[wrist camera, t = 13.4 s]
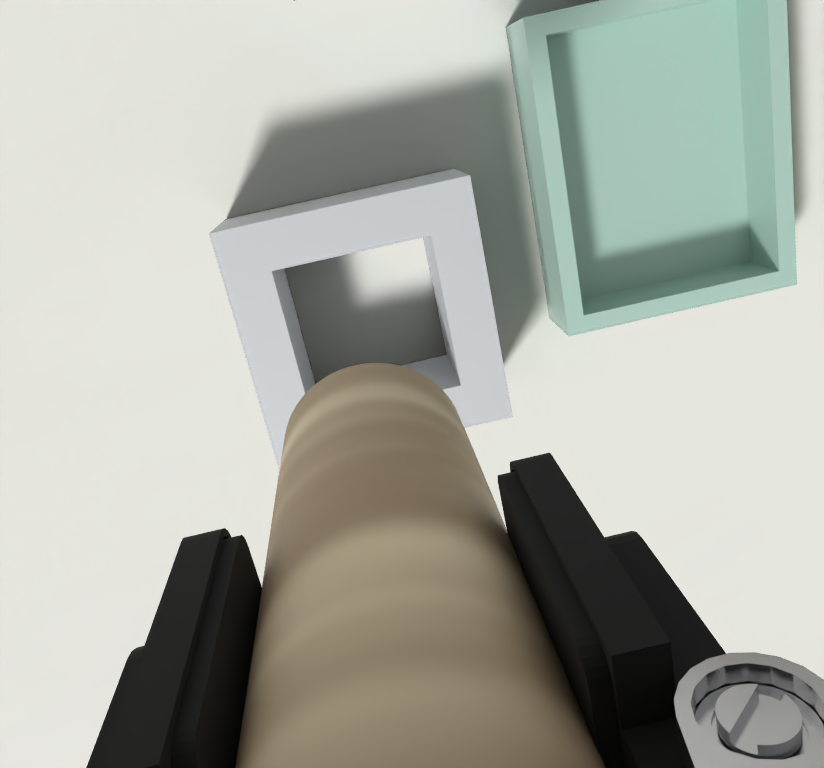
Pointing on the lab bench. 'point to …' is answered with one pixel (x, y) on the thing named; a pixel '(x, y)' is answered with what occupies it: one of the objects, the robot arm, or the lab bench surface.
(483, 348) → the socket block
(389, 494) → the dowel
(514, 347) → the lab bench surface
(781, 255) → the tray
